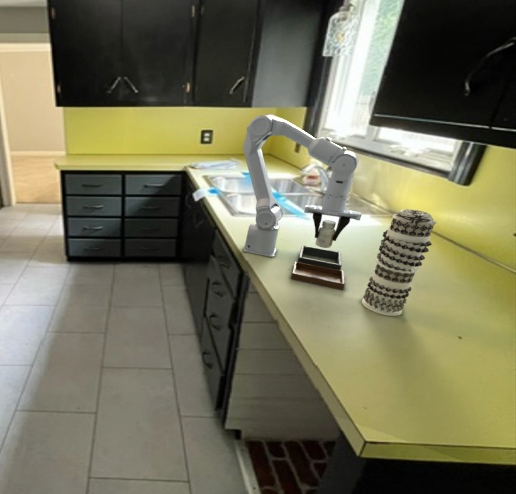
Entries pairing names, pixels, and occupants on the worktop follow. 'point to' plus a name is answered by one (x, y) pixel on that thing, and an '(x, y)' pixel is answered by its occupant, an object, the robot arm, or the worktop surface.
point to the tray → (318, 275)
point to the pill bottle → (326, 234)
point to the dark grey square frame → (322, 254)
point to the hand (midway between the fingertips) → (324, 238)
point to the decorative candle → (398, 261)
